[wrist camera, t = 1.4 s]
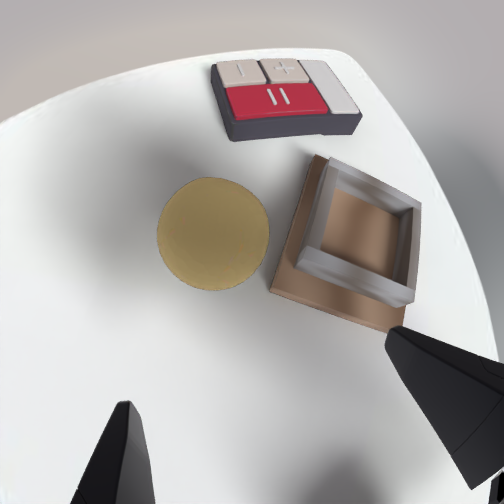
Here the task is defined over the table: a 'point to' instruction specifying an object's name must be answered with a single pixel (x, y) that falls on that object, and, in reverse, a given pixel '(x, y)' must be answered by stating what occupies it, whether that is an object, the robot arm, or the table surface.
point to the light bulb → (213, 234)
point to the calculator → (282, 99)
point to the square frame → (351, 247)
